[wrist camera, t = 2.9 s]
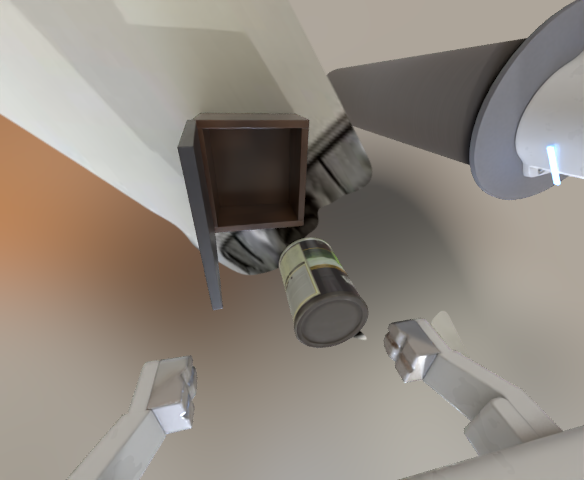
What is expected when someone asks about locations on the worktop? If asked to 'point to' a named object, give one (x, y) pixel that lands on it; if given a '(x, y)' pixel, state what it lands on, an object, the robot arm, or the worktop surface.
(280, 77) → the worktop surface
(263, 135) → the open brown box
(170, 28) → the worktop surface
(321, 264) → the coffee can
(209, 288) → the dark grey box door
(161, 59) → the worktop surface
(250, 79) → the worktop surface
